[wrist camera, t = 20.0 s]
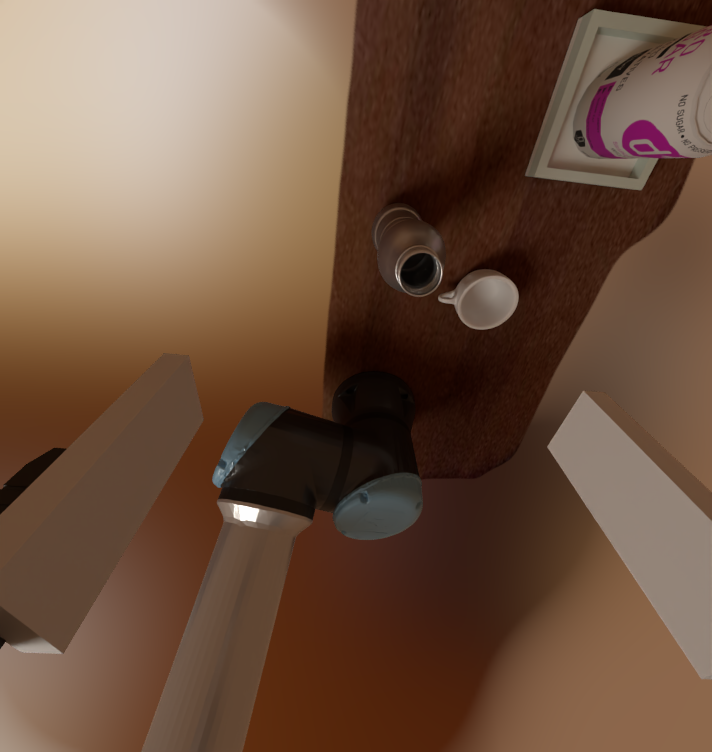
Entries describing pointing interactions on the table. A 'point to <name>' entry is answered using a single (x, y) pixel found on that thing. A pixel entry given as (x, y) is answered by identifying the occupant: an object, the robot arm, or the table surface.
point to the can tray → (581, 66)
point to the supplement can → (651, 104)
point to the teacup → (483, 299)
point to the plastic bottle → (408, 250)
